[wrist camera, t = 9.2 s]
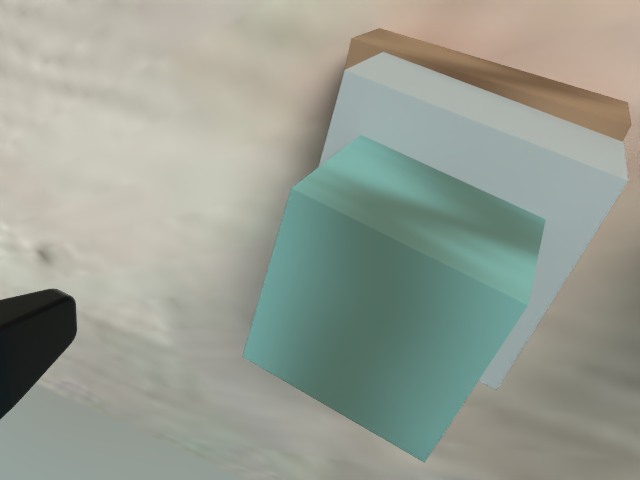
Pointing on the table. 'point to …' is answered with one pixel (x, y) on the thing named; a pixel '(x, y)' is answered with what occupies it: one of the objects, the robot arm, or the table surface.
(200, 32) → the table surface
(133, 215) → the table surface
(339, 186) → the teal cube
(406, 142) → the slate-grey top block
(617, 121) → the walnut base block
